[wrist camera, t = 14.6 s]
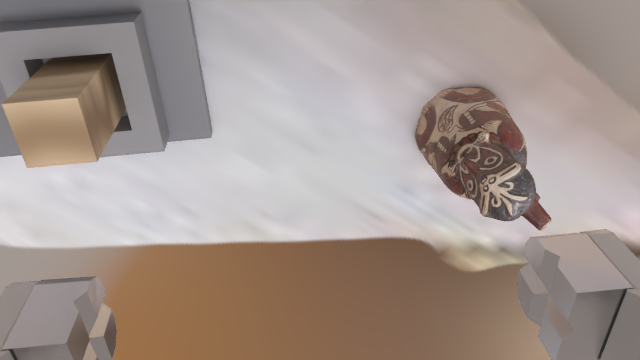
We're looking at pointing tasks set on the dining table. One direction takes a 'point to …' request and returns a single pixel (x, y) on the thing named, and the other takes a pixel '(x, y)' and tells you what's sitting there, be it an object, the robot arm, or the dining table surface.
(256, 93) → the dining table surface
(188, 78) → the socket board
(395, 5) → the dining table surface
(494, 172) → the figurine
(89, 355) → the robot arm
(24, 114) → the wood plug
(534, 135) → the dining table surface
